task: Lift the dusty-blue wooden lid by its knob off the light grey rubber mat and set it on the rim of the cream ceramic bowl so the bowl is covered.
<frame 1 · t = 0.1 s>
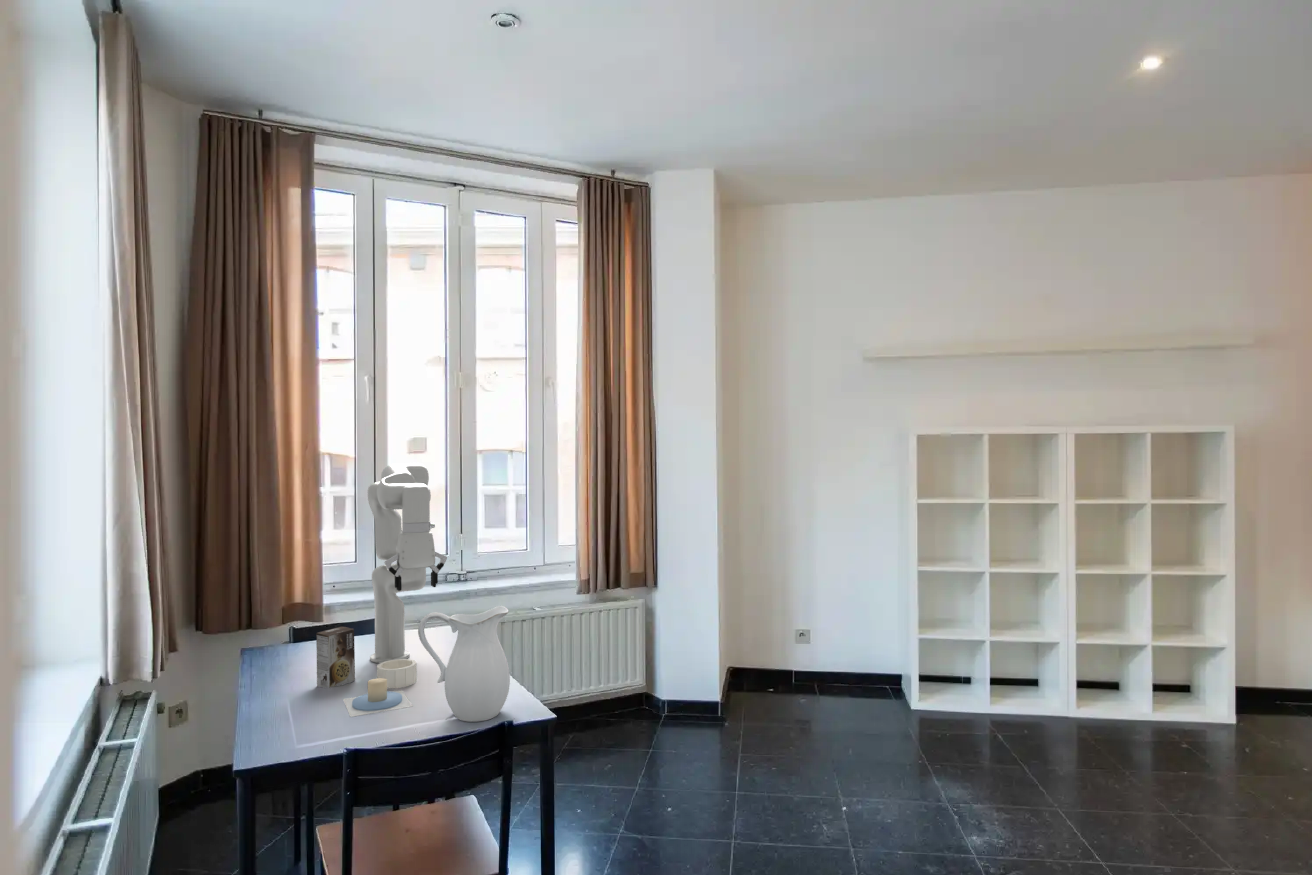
hand: (416, 588, 217), 31 cm above the table, tool pointing down, fingers open, 9 cm apart
coffee box: (335, 684, 229), on the table
lid: (377, 702, 210), point 1 cm above the table, touching mat
pitcher: (464, 715, 202), on the table
bowl: (396, 684, 228), on the table
mat: (377, 704, 210), on the table
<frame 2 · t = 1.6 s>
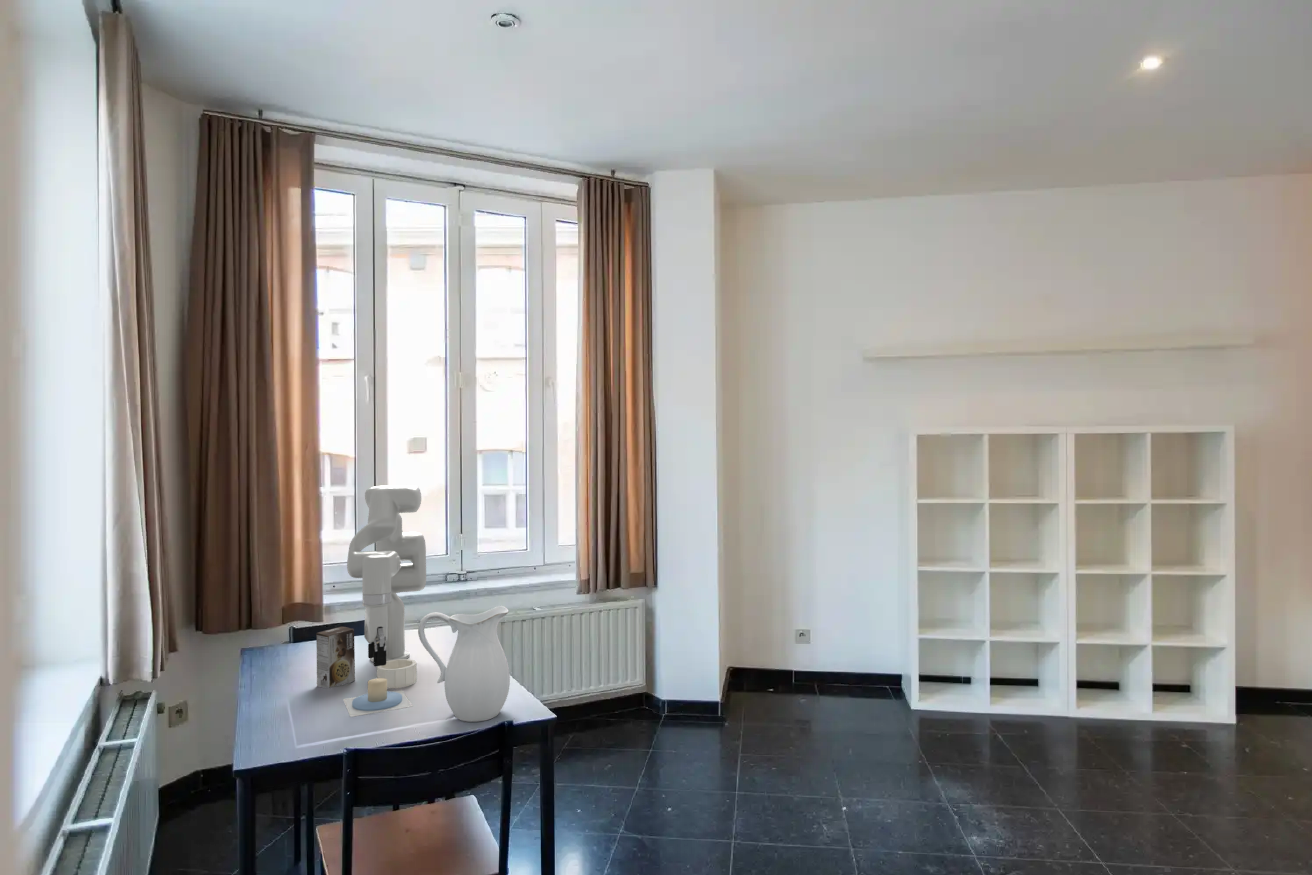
hand: (377, 661, 210), 12 cm above the table, tool pointing down, fingers open, 9 cm apart
nothing on the table moved.
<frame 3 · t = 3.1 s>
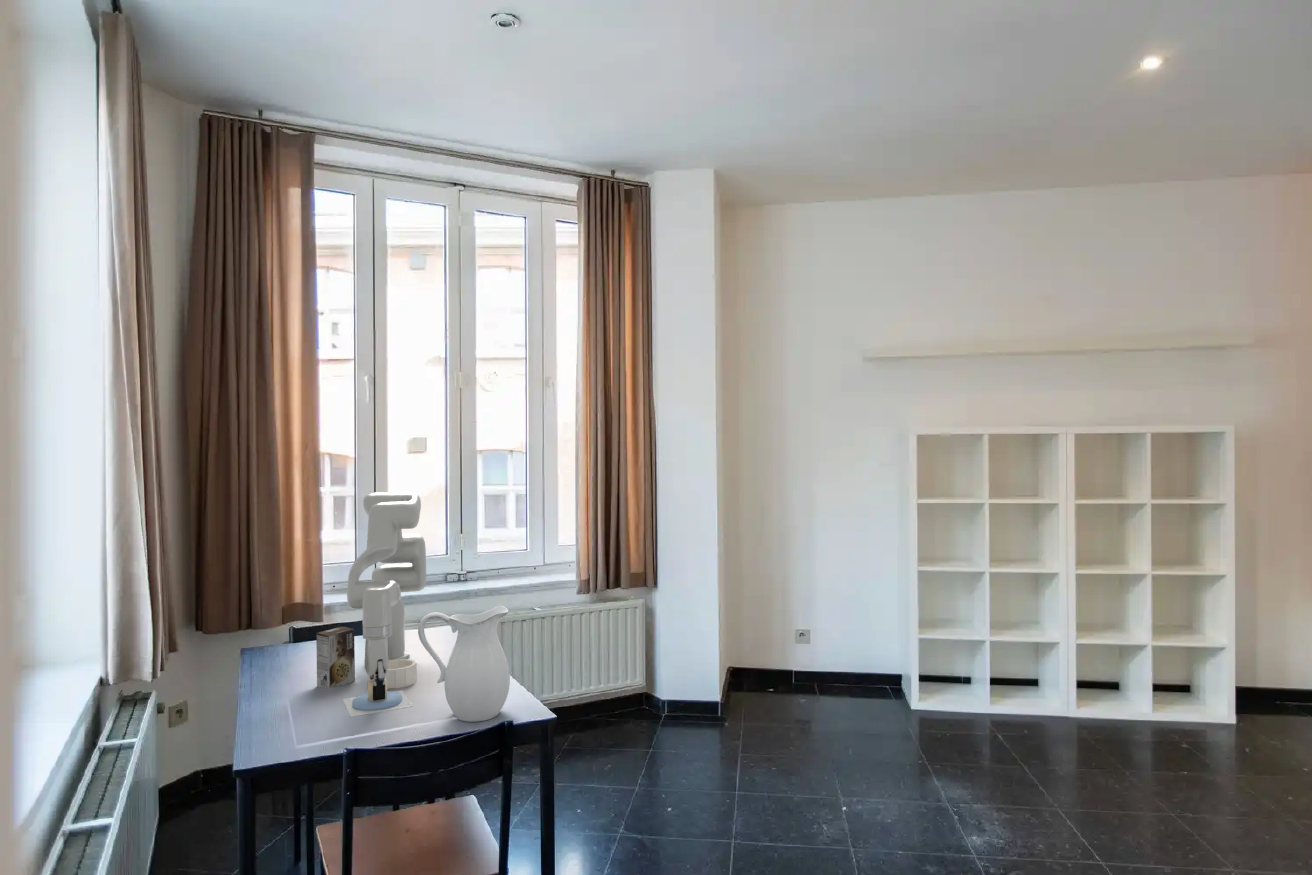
hand: (377, 695, 210), 2 cm above the table, tool pointing down, fingers closed on lid, 5 cm apart
lid: (377, 702, 210), point 1 cm above the table, touching gripper, mat
everything else where it was.
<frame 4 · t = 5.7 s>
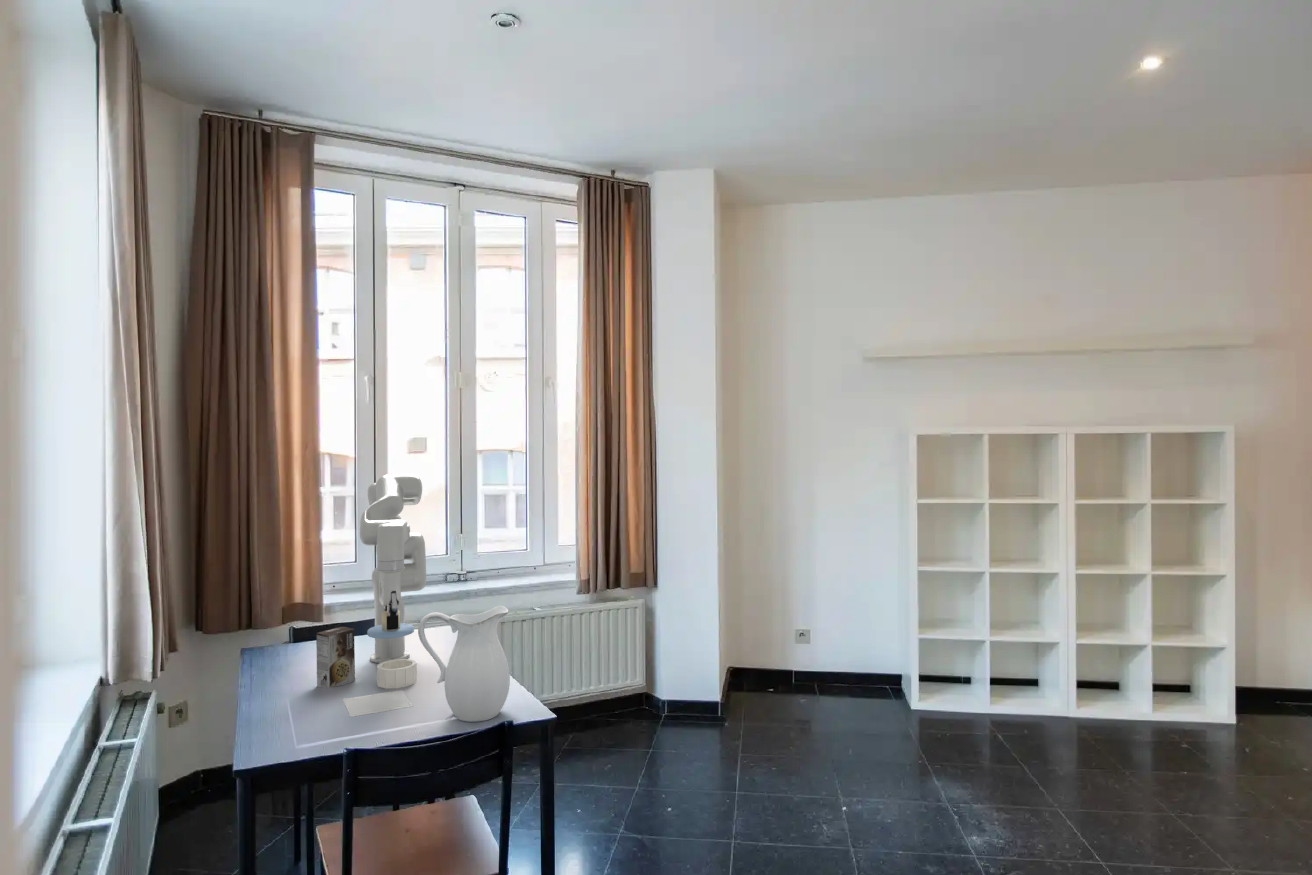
hand: (390, 626, 223), 19 cm above the table, tool pointing down, fingers closed on lid, 5 cm apart
lid: (391, 632, 223), point 17 cm above the table, touching gripper
everything else where it was.
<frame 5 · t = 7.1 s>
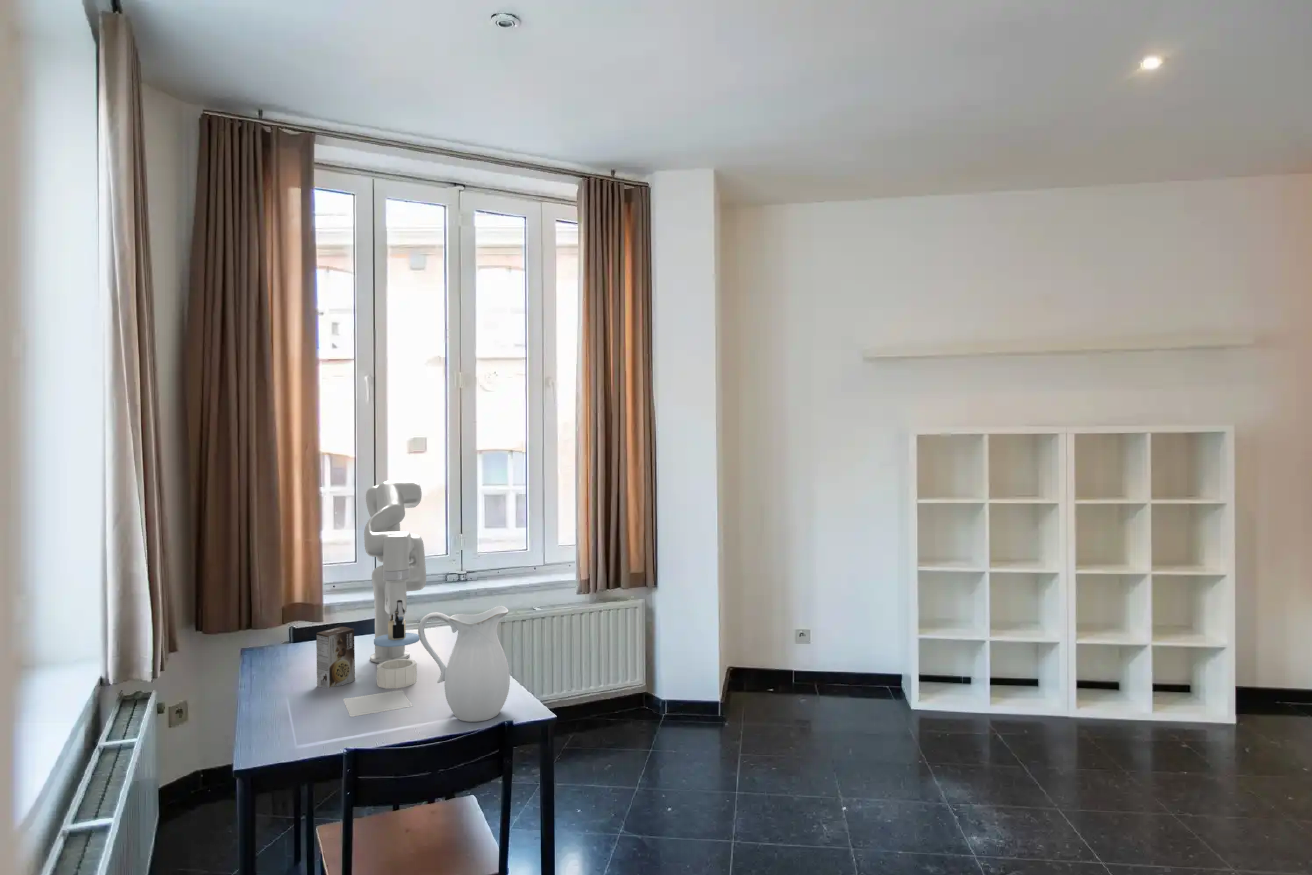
hand: (396, 635, 228), 15 cm above the table, tool pointing down, fingers closed on lid, 5 cm apart
lid: (396, 641, 228), point 13 cm above the table, touching gripper
everything else where it was.
when the fingers open (9 cm above the table, at t = 8.4 s): lid drops 2 cm, resting on bowl.
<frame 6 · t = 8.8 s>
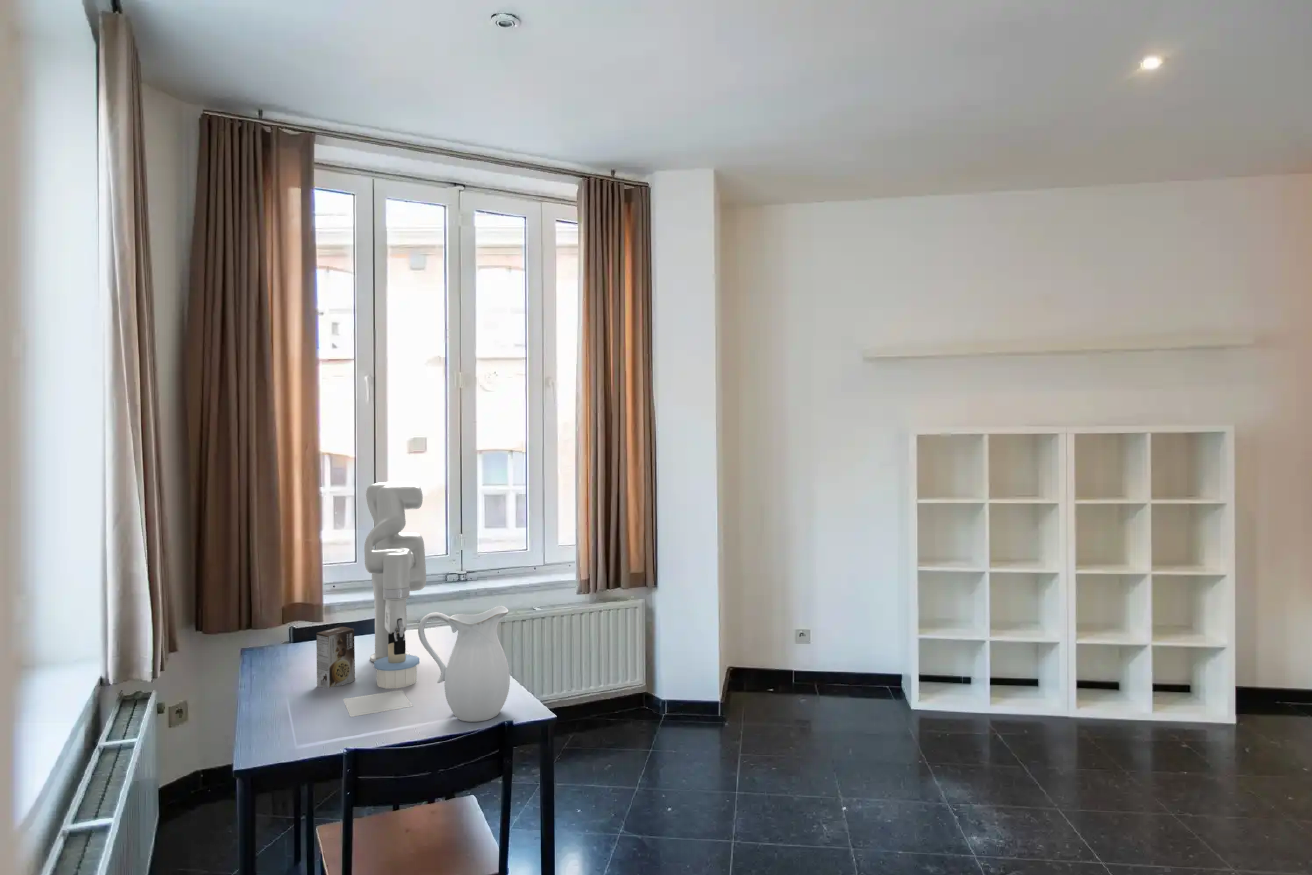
hand: (396, 650, 228), 10 cm above the table, tool pointing down, fingers open, 9 cm apart
lid: (396, 664, 228), point 6 cm above the table, touching bowl
everything else where it was.
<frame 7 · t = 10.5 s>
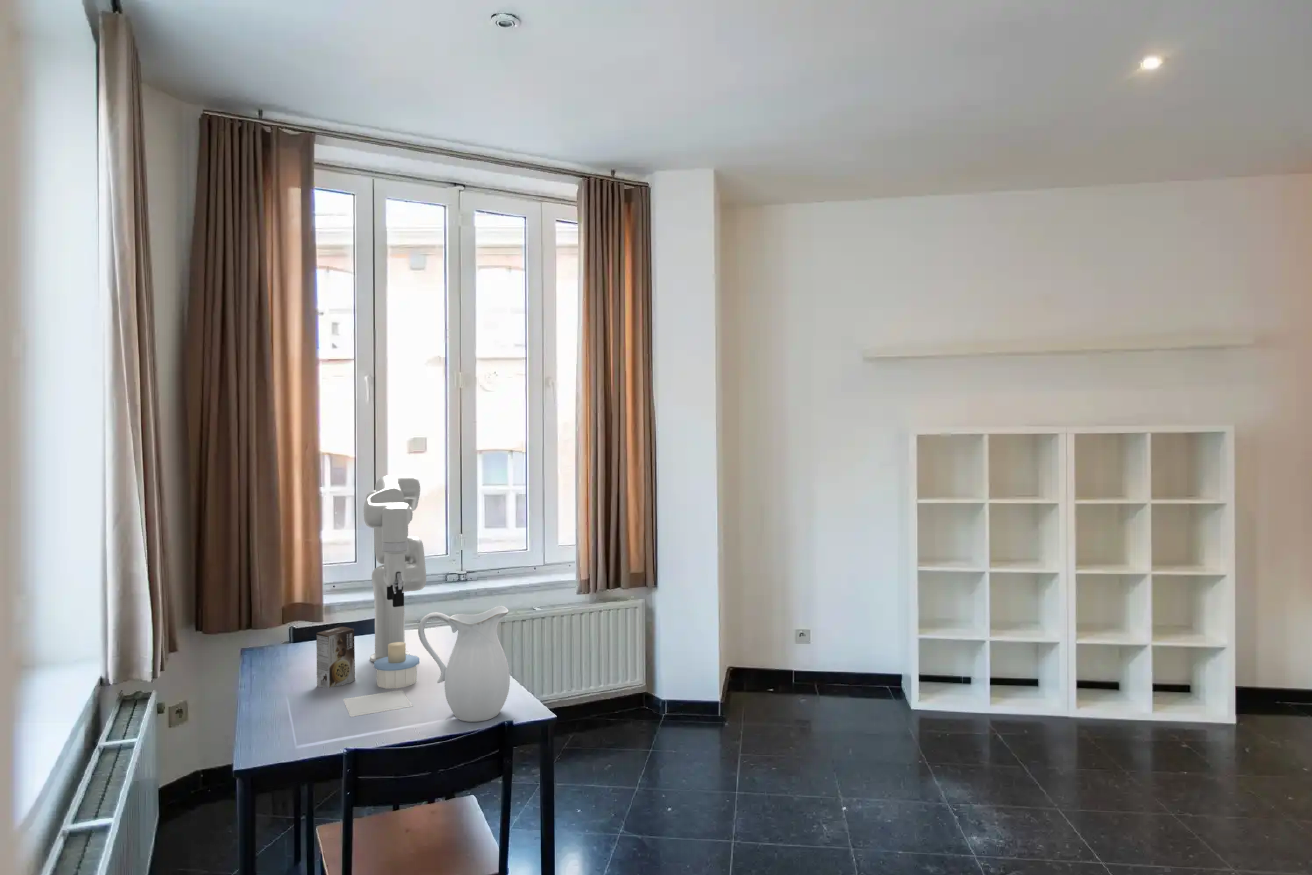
hand: (395, 602, 231), 24 cm above the table, tool pointing down, fingers open, 9 cm apart
nothing on the table moved.
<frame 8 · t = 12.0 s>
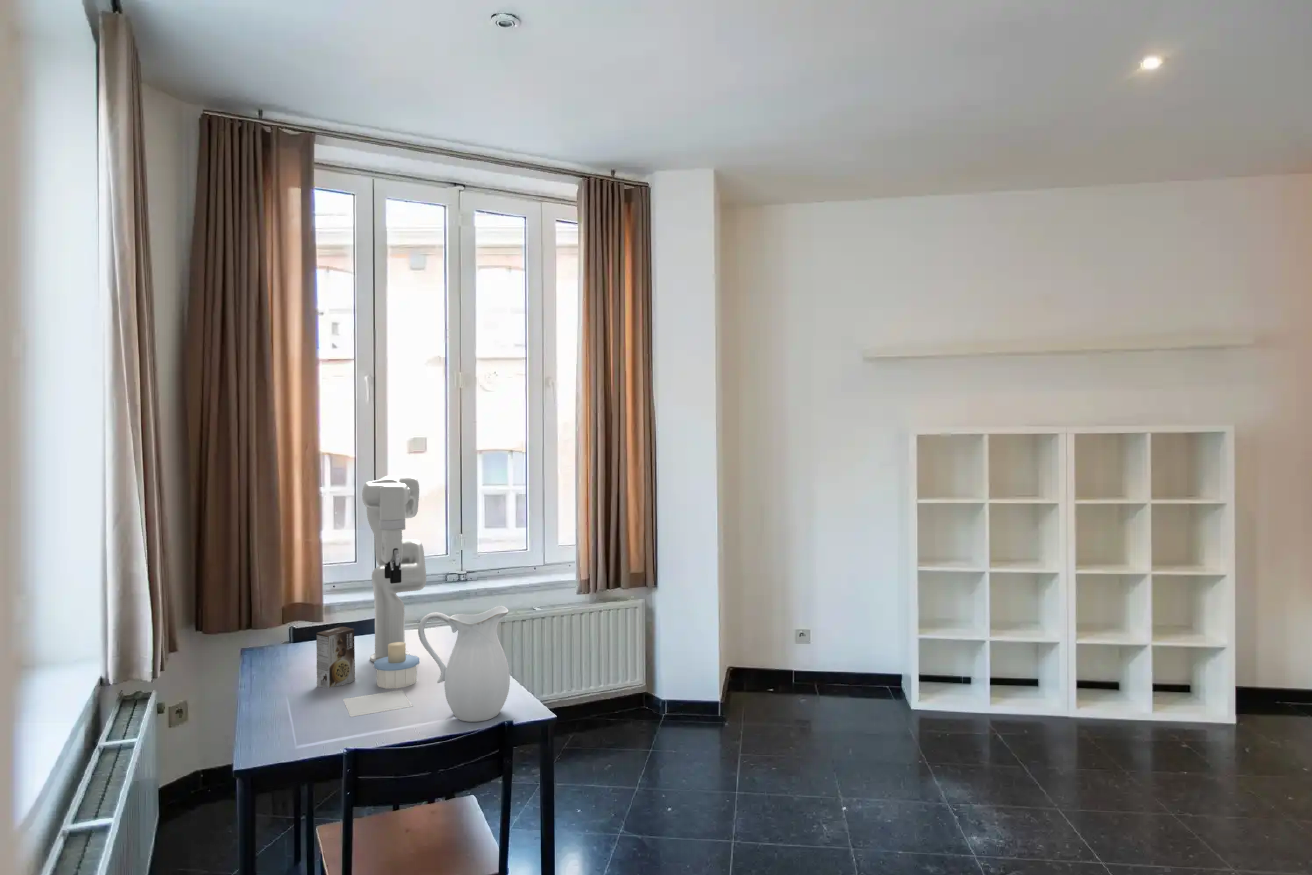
hand: (392, 580, 234), 30 cm above the table, tool pointing down, fingers open, 9 cm apart
nothing on the table moved.
at the end: lid 0.1 cm off-centre on the bowl, point 6.0 cm above the bowl's base; lid tilted 0°; the gripper is holding nothing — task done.
